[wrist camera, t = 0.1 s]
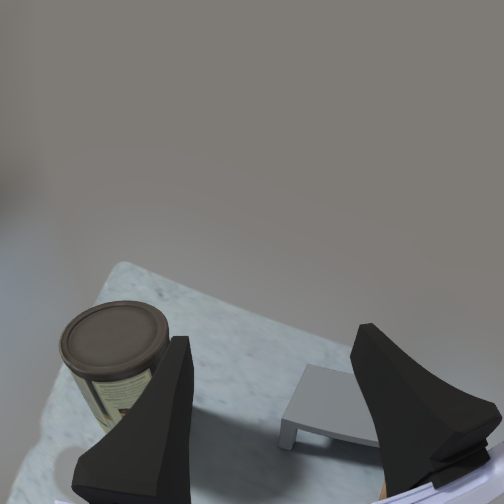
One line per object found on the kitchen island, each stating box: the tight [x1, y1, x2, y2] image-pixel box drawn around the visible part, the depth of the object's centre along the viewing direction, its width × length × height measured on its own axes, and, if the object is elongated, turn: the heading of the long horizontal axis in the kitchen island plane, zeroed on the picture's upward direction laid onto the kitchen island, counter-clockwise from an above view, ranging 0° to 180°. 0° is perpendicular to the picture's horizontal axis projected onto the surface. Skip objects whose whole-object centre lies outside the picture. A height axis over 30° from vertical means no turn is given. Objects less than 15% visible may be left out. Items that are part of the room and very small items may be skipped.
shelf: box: [278, 364, 380, 451], centre depth 28 cm, size 8×15×6 cm, turn 66°
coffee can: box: [59, 301, 170, 434], centre depth 28 cm, size 10×10×14 cm
